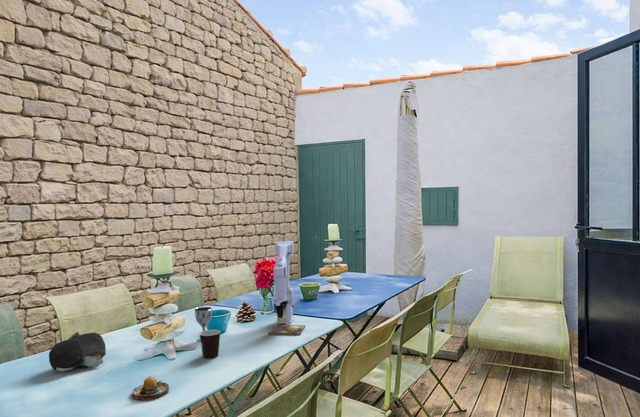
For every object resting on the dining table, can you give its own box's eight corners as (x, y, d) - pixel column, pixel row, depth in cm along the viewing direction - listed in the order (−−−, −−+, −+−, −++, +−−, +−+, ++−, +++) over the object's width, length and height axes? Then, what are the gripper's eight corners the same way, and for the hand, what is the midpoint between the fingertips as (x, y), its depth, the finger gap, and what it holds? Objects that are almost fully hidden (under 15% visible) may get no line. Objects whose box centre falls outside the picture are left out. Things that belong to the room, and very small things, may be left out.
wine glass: (214, 337, 214) (214, 306, 214) (209, 342, 206) (208, 310, 206) (199, 337, 215) (198, 306, 215) (192, 342, 207) (192, 310, 207)
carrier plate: (275, 326, 230) (275, 321, 230) (305, 327, 227) (304, 321, 227) (268, 334, 216) (268, 328, 216) (299, 335, 214) (299, 329, 214)
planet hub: (278, 319, 225) (277, 306, 225) (285, 319, 225) (284, 305, 225) (276, 321, 221) (275, 308, 221) (284, 321, 221) (283, 307, 221)
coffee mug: (218, 359, 183) (217, 335, 183) (197, 359, 183) (196, 335, 183) (224, 350, 195) (224, 327, 194) (205, 350, 195) (204, 328, 195)
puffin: (109, 373, 184) (119, 346, 182) (61, 390, 165) (72, 360, 163) (81, 348, 192) (91, 321, 190) (33, 361, 173) (43, 332, 171)
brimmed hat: (173, 386, 157) (172, 365, 157) (162, 400, 145) (162, 378, 145) (139, 387, 157) (139, 366, 157) (126, 402, 145) (125, 379, 145)
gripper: (276, 287, 231) (277, 313, 231) (269, 292, 216) (270, 320, 216) (289, 287, 230) (290, 313, 230) (283, 292, 215) (284, 320, 215)
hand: (281, 316), depth 223 cm, fingers closed on planet hub, 4 cm apart
